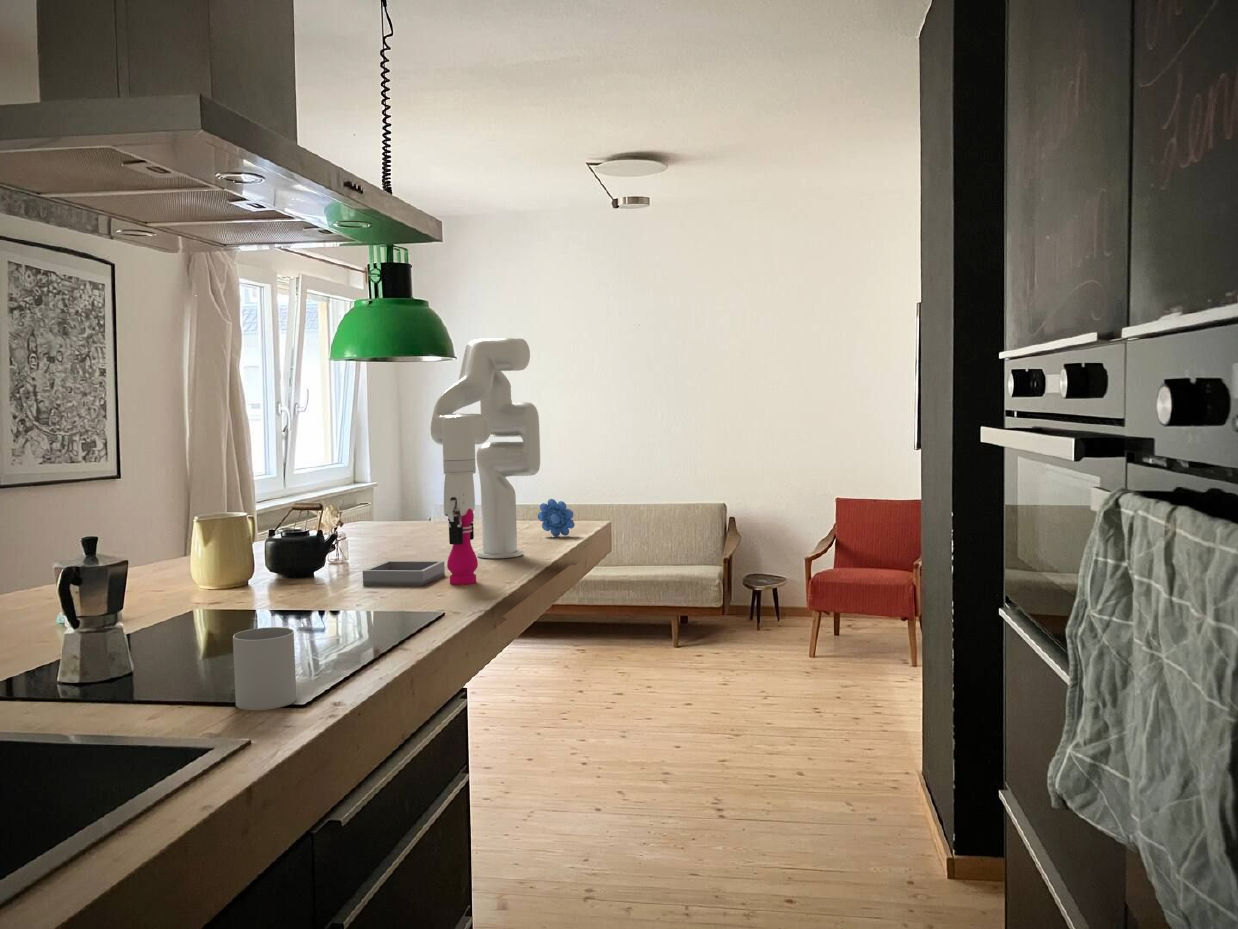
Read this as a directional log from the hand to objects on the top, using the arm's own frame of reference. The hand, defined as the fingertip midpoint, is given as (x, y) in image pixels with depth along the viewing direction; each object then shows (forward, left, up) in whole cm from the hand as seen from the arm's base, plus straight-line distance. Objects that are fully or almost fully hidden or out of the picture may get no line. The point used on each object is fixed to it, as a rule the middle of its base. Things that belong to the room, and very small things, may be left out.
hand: (461, 541), depth 245 cm
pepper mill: (0, 0, -10) cm, 10 cm away
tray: (-3, -16, -10) cm, 19 cm away
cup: (+97, +2, -10) cm, 98 cm away
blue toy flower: (-81, +4, -10) cm, 82 cm away
